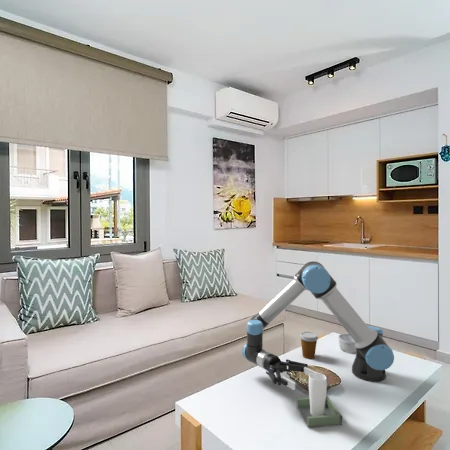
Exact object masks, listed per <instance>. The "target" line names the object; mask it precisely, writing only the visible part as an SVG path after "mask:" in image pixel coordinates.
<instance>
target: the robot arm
mask: <svg viewBox="0 0 450 450" xmlns="http://www.w3.org/2000/svg"><path fill="white" fill-rule="evenodd" d="M337 284H338V283H337V281H336V280H335V279H334V278H333V277H332V275H331V274H330V273H329V271H328V270H327V269H326V268H325V266H324V265H323V264H322V263H320V262H318V261H309V262H306V263H305V264H304V265H303V266H302V267H301V268H300V269H299V270H298V271H297V272H296V274H294V275H293V278H292V280H291V281H290V282H289V283H288V284H287V285H286V286H285V287H284V288H282V290H280V292H278V293H277V294H276V295H275V296H274V297H273V298H272V299H271V300H270V301H269V302H268V303H267V304H266V305H265V306H264V307H263V308H262V309H261V310H260V311H259V312H258V313H256V314H254V315H253V316H252V317H251V318H250V320H248V321H247V323H246V343H245V344H244V345H243V347H242V349H241V355H242V356H243V358H244V359H246V360H247V361H248V362H250V363H252V364H255V365H257V367H259V368H262V369H263V370H265V374H266V375H268V377H269V379H270V380H271V382H272V383H273V385H278V386H282V385H283V386H285V387H287V388H290V389H291V390H293V391H296V382H295V381H293V380H291V379H289V378H287V377H286V376H282V375H281V374H283V373H285V372H300V373H303V374H304V375H305V376H308V377H309V375H310V374H311V373H318V372H317V371H315V370H313V369H311V368H308V365H309V364H308V363H305V362H304V363H303V362H298V361H293V360H290V359H287V358H286V359H285V361H282V360H281V359H280V357H279V356H278V355H275V354H273V353H271V352H270V351H268V350H265V349H263V341H264V340H263V339H264V338H263V336H264V335H263V334H264V329H266V327H267V326H268V325H270V324H271V322H272V321H273V320H275V319H276V318H277V317H278V316H279V315H280V314H281V313H283V311H285V309H286V308H287V307H289V306H290V305H291V304H292V303H293V302H294V301H295V300H297V298H299V296H300V295H301V294H302V293H304V292H305V291H308V292H310V293H311V295H313V297H314V298H315V299H316V300H321V301H322V302H323V304H324V305H325V306H326V307H327V309H328V310H329V311H330V312H331V313H332V315H333V316H334V317H335V319H336V320H337V321H338V322H339V324H341V326H342V327H343V328H344V329H345V331H346V332H347V334H350V336H351V337H352V338H353V339H354V340H355V347H356V353H355V356H354V357H355V358H354V360H353V362H352V365H351V366H352V367H351V373H352V374H353V375H354V376H355V377H356V378H359V379H361V380H363V381H368V382H382V381H384V380H385V379H386V378H387V371H386V370H387V369H390V367H392V366H393V363H394V360H395V355H394V352H393V350H392V348H391V347H390V346H389V345H388V343H387V342H386V340H384V337H383V336H384V333H383V332H384V330H383V329H382V328H380V327H378V326H372V325H367V324H366V322H365V321H364V320H363V318H362V317H361V316H360V315H359V313H358V312H357V311H356V310H355V309H354V307H353V306H352V305H351V304H350V303H349V301H347V299H346V298H345V297H344V295H343V294H342V293H341V292H340V290H339V289H338V288H337ZM275 374H276V375H275Z"/></svg>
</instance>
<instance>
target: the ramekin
mask: <svg viewBox="0 0 450 450" xmlns="http://www.w3.org/2000/svg"><path fill="white" fill-rule="evenodd" d="M338 344H339V345H338V346H339V348H340V350H341V351H343V352H344V353H347V354H356V347H355V340H354V339H353V338H352V337H351V336H350V334H349V333H340V334H339V335H338Z"/></svg>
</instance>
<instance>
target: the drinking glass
mask: <svg viewBox="0 0 450 450" xmlns="http://www.w3.org/2000/svg"><path fill="white" fill-rule="evenodd" d="M327 386H328V379H327V376H326V375H325V374H323V373H321V372H317V373H311V374H310V375H309V376H308V398H309V399H310V414H311V415H312V416H324V409H325V400H326V396H327V389H328V387H327Z"/></svg>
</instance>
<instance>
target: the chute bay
mask: <svg viewBox="0 0 450 450" xmlns="http://www.w3.org/2000/svg"><path fill="white" fill-rule="evenodd" d="M296 407H297V409H298V411H299V413H300V415H301V417H302V418H303V420H304V422H305V424H306V426H307V428H308V429H309V428H310V429H311V428H323V427H324V428H325V427H334V426H335V427H336V426H343V415H342V413H341V412H340V410H339V409H338V408H337V407H336V405H335V404H334V403H333V402H332V400H331V399H330V397H329V396H327V395H326V400H325V409H324V416H312V415H311V414H310V399H309V397H298V398H296Z"/></svg>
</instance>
